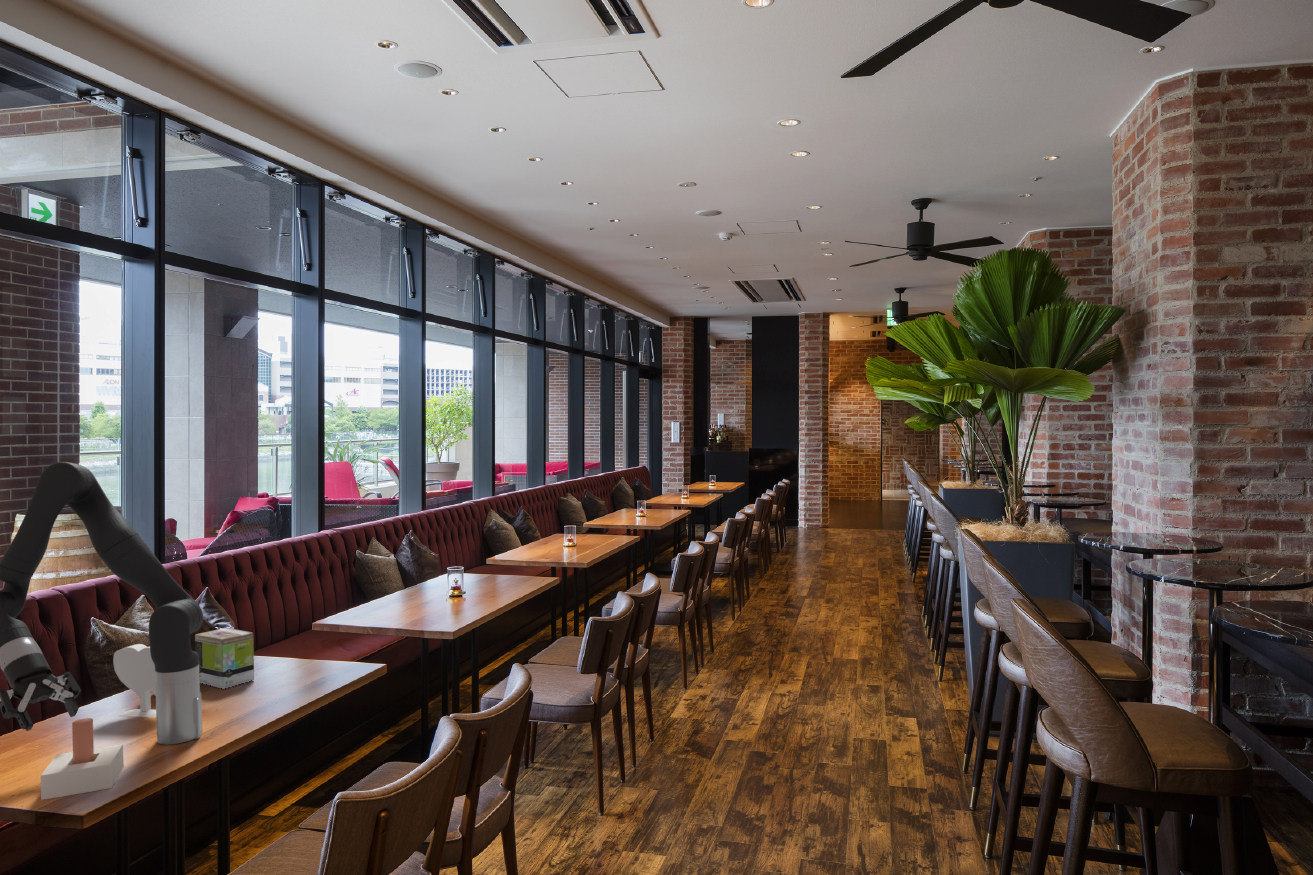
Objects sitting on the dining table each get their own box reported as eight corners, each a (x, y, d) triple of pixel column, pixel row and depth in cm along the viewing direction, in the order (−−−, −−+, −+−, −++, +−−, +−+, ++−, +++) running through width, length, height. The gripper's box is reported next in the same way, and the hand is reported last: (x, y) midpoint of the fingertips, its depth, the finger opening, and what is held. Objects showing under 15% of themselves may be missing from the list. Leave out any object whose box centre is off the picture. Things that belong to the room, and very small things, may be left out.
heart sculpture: (178, 710, 214) (176, 643, 214) (164, 717, 209) (162, 648, 209) (127, 708, 217) (125, 642, 217) (112, 715, 212) (110, 647, 212)
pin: (93, 772, 173) (92, 716, 173) (94, 777, 170) (93, 721, 170) (73, 776, 171) (71, 720, 170) (73, 782, 168) (72, 725, 168)
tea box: (255, 680, 239) (254, 631, 239) (222, 690, 231) (221, 639, 231) (227, 673, 247) (226, 626, 247) (194, 682, 239) (193, 633, 239)
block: (123, 766, 178) (122, 744, 178) (111, 787, 167) (110, 764, 167) (58, 776, 173) (57, 754, 173) (41, 799, 162) (40, 775, 162)
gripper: (-10, 661, 172) (20, 723, 167) (64, 643, 185) (94, 700, 180) (-21, 682, 175) (9, 743, 170) (53, 663, 188) (82, 719, 183)
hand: (52, 721), depth 175 cm, fingers open, 8 cm apart
